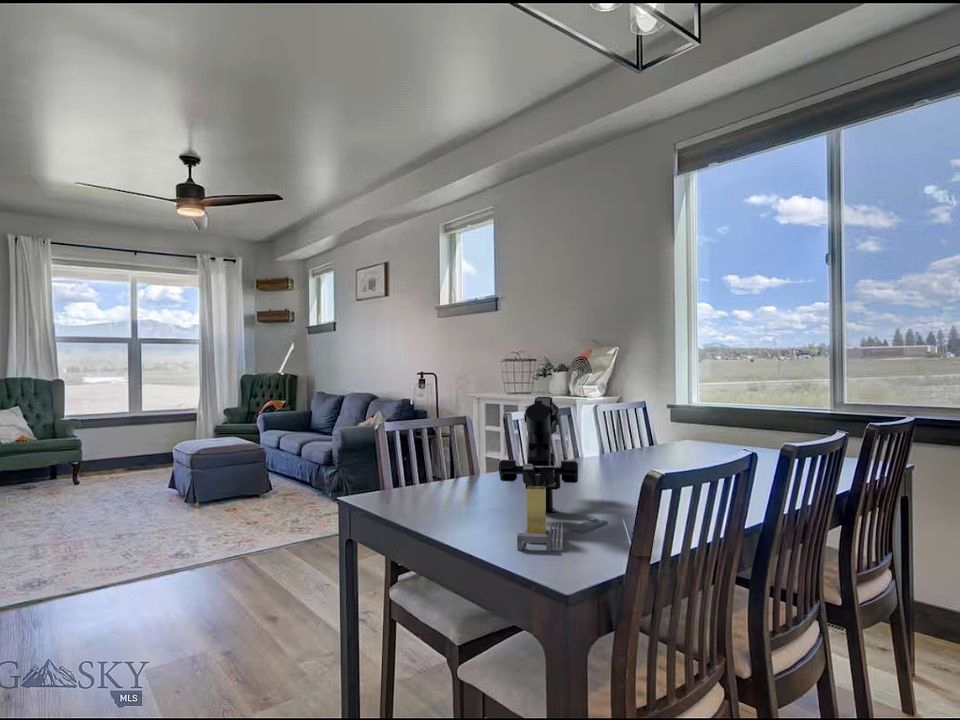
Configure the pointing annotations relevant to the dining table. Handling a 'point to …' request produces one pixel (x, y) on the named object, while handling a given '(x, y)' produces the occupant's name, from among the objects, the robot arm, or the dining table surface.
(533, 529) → the yellow rectangular block
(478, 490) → the dining table surface
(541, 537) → the socket board
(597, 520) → the dark grey flat block
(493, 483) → the dining table surface
